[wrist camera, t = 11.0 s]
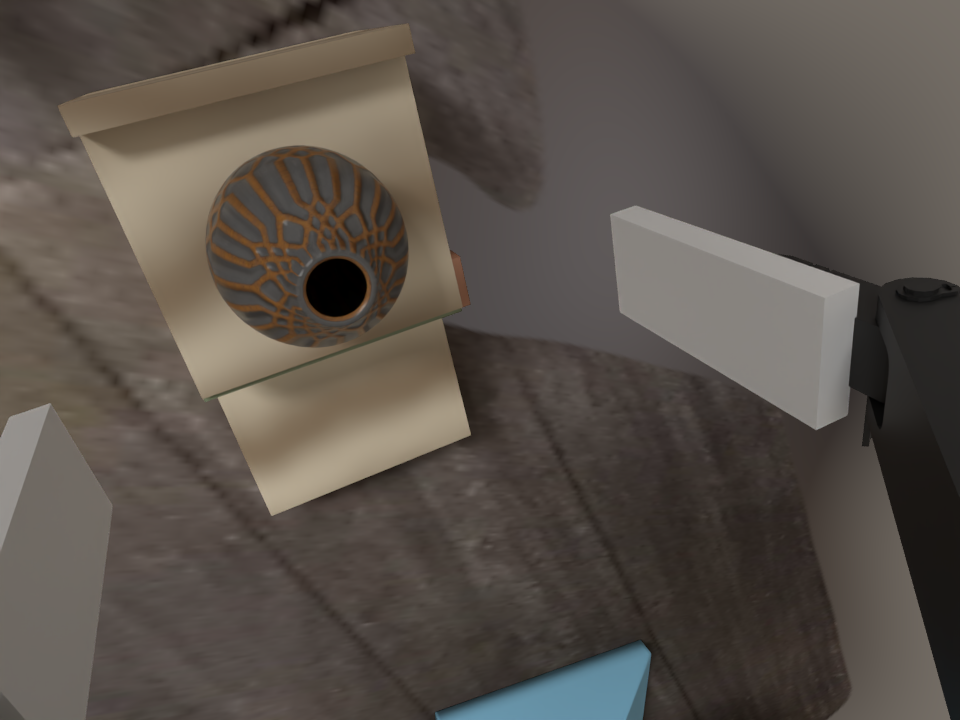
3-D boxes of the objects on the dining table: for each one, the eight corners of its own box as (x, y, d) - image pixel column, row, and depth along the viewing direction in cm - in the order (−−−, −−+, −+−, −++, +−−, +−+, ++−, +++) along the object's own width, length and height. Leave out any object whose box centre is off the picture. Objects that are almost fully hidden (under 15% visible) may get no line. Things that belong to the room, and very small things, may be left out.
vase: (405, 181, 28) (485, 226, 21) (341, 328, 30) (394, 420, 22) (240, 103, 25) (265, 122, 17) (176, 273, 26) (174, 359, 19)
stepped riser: (90, 92, 30) (57, 105, 22) (360, 29, 33) (418, 21, 25) (264, 482, 40) (285, 589, 32) (456, 406, 43) (520, 487, 35)
